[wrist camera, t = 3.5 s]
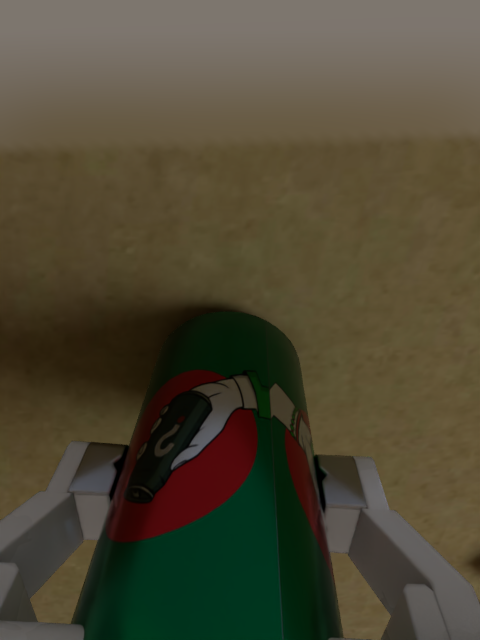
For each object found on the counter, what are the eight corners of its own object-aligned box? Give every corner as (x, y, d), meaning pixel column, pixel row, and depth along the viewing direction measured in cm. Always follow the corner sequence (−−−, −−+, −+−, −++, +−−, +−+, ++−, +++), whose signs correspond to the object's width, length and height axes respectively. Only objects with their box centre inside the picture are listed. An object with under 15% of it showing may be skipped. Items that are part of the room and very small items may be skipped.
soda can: (138, 382, 16) (-60, 930, 6) (199, 277, 14) (48, 869, 4) (253, 432, 17) (255, 963, 7) (326, 343, 15) (485, 932, 5)
